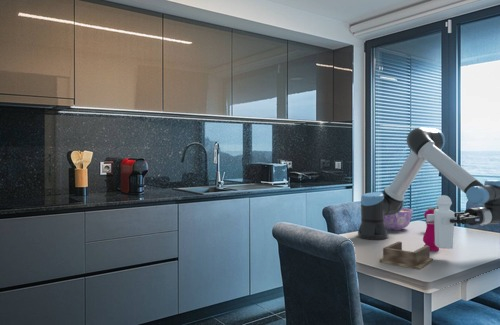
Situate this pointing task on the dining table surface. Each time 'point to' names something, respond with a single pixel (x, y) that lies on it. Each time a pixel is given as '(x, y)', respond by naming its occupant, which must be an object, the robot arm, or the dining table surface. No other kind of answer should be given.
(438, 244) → the white plastic bottle
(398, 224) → the bowl of food
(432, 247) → the pepper mill
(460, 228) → the dining table surface
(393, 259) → the walnut holder
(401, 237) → the dining table surface
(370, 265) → the dining table surface
